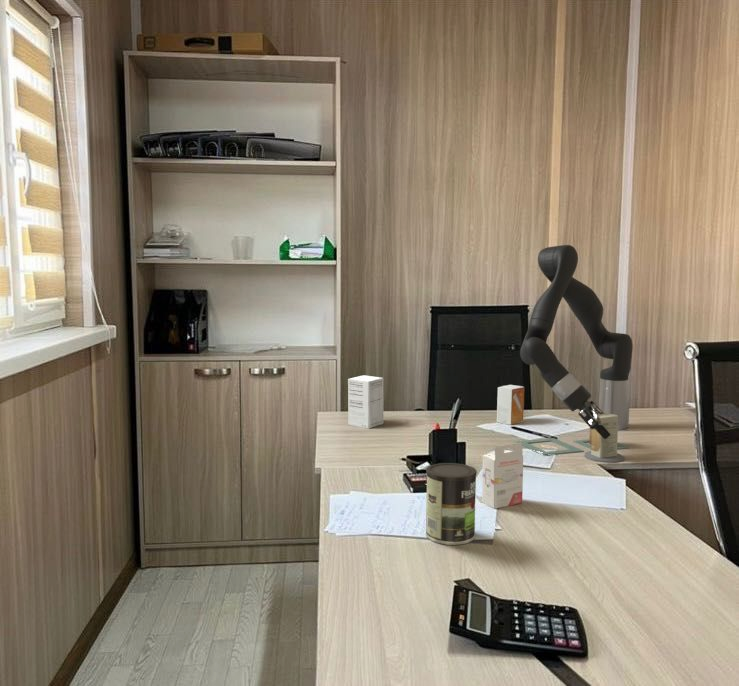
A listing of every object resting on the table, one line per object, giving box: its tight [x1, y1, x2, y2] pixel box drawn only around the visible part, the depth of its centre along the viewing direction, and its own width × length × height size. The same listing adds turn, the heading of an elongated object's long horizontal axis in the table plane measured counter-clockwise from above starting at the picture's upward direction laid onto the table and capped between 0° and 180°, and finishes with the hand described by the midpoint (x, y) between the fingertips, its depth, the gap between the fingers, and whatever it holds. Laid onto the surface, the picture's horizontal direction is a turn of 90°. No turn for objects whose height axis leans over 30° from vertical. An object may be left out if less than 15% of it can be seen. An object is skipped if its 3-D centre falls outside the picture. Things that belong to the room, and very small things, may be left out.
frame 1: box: [515, 437, 585, 456], centre depth 209 cm, size 14×16×1 cm
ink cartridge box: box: [481, 442, 524, 509], centre depth 158 cm, size 9×5×15 cm, turn 118°
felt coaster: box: [584, 450, 625, 464], centre depth 198 cm, size 11×11×1 cm
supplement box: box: [347, 375, 384, 430], centre depth 237 cm, size 10×9×17 cm
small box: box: [496, 384, 525, 426], centre depth 242 cm, size 8×6×13 cm
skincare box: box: [590, 413, 619, 458], centre depth 197 cm, size 6×4×12 cm
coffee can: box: [425, 462, 477, 546], centre depth 139 cm, size 10×10×14 cm
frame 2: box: [572, 438, 631, 451], centre depth 211 cm, size 12×12×1 cm
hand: (609, 433), depth 196 cm, fingers open, 8 cm apart
